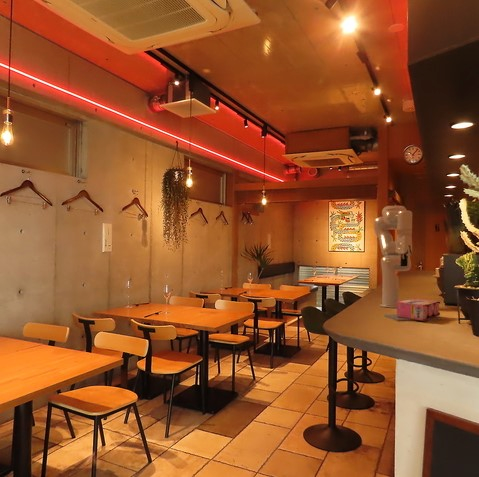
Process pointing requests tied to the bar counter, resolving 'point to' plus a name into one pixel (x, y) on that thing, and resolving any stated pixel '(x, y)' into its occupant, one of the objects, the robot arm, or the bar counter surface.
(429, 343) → the bar counter surface
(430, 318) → the mat
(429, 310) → the gum box
